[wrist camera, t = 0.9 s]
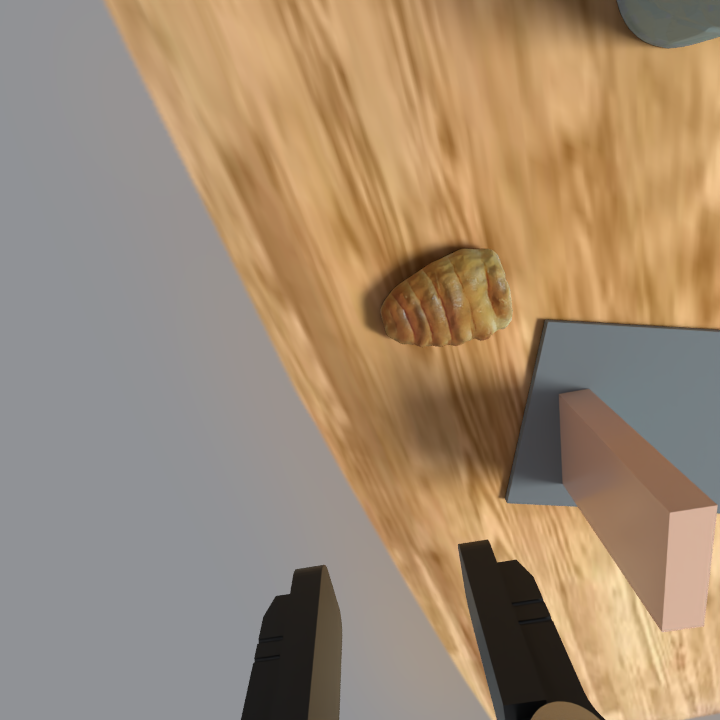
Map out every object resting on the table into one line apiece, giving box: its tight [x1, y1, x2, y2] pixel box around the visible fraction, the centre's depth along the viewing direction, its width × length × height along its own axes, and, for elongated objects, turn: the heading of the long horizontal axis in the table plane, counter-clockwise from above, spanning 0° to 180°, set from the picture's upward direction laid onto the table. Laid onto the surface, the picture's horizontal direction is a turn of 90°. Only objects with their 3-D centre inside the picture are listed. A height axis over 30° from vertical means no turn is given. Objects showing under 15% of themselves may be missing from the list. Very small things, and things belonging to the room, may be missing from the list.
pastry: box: [381, 249, 513, 347], centre depth 33 cm, size 9×7×4 cm
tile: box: [559, 389, 718, 632], centre depth 31 cm, size 2×9×14 cm, turn 11°
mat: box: [505, 319, 720, 513], centre depth 38 cm, size 17×21×1 cm
